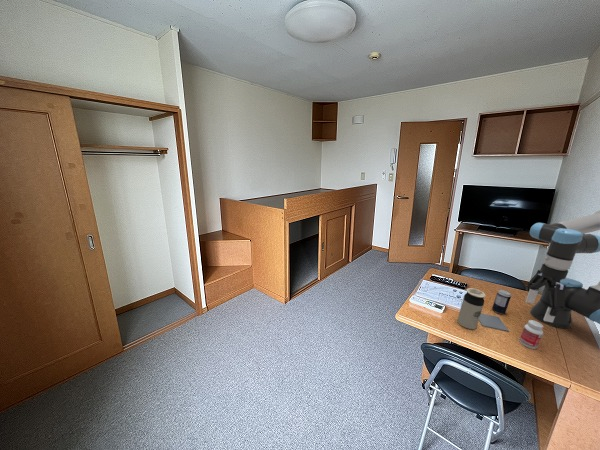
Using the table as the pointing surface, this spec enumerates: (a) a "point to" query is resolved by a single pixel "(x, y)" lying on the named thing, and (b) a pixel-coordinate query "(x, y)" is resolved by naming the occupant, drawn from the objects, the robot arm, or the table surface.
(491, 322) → the coaster
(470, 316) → the travel mug
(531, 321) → the pill bottle
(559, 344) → the table surface
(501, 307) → the beverage can
